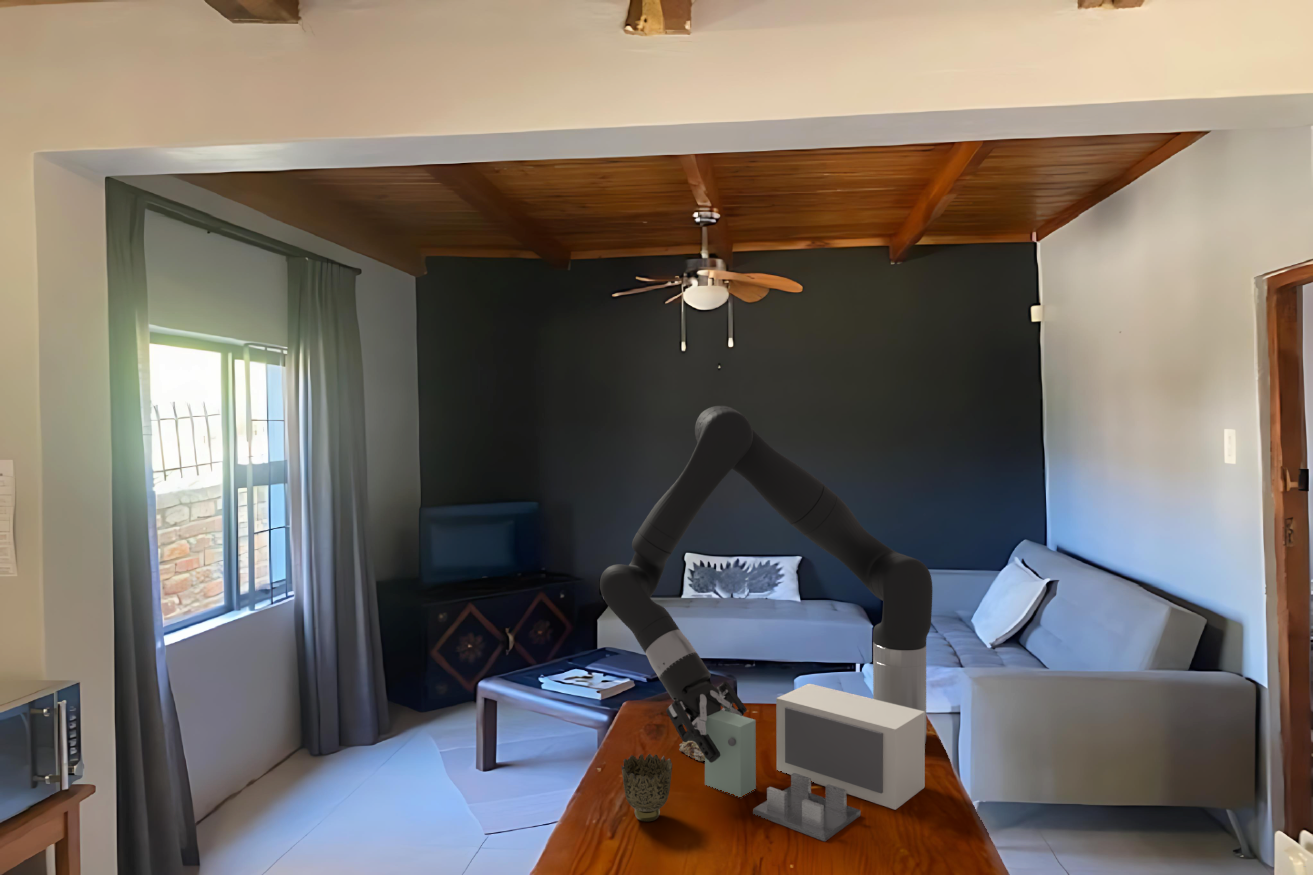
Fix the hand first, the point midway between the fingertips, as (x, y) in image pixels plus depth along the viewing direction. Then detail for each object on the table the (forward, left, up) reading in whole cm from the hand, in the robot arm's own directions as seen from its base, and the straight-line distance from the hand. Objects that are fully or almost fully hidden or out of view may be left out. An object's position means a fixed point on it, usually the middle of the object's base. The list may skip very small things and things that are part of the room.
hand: (733, 751), depth 131 cm
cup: (+16, -4, -6) cm, 17 cm away
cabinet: (-15, +12, -6) cm, 20 cm away
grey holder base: (0, +13, -6) cm, 15 cm away
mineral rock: (-8, -12, -6) cm, 16 cm away
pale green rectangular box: (0, -1, -6) cm, 6 cm away
